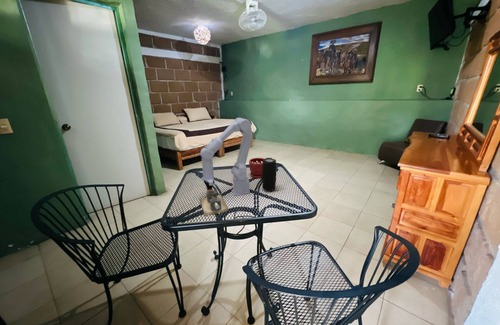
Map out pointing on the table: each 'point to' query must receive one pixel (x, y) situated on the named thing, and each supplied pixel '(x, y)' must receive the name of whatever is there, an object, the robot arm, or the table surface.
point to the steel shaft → (213, 198)
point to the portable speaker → (269, 174)
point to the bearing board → (209, 206)
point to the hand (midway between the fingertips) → (209, 192)
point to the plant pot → (256, 167)
